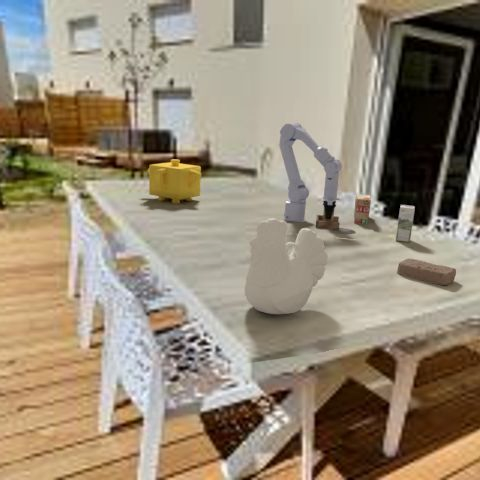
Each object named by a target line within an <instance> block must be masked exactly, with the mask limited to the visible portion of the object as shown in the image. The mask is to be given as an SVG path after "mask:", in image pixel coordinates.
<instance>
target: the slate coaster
mask: <svg viewBox="0 0 480 480" xmlns="http://www.w3.org/2000/svg"><path fill="white" fill-rule="evenodd" d="M331 231H332V232H333V233H336V234H340V235H353V234H356V233H357V232H356V230H354V229H350V228H342V227H341V228H340V227H339V229H331Z"/></svg>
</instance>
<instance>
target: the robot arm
mask: <svg viewBox="0 0 480 480" xmlns="http://www.w3.org/2000/svg"><path fill="white" fill-rule="evenodd" d="M279 133H280V138H279V148H280V149H279V150H280V152H281V157H282V159H283V160H282V161H283V164H284V167H285V171H286V176H287V178H288V182H289V183H288V186H287V189H288V194H287V195H288V196H287V197H288V199H289V200H286V201H285V204H284V213H283V216H284V219H283V221H284V222H286V221H288V222H297V223H298V222H300V223H305V222H306V219H307V218H306V216H305V215H306V206H307V205H306V204H307V199H308V197H309V194H310V193H309V192H310V191H309V189H308V188H307V187H306V184H305V182H304V180H302V179H301V174H300V171H299V168H298V164H297V163H298V162H297V160H296V156H295V152H294V149H293V146H294V144H295V142H296V141H298V140H300V141H302V143H304V144H305V146H306V147H308V148H309V149H310V150H311V151H312V152H313V157H314V158H315V159H316V161H317V162H318V163H320V165H321V166H322V167H323V170H324V172H325V179H324V189H323V197H322V199H323V201H322V202H323V203H322V205H323V209H324V208H325V217H326V219H331V217H332V213H333V210H334V211H335V209H336V207H337V201H340V198H339V197H338V189H339V178H340V171H341V170H342V167H343V164H342V163H341V160H339V159H336V158H335V156H333V155H331V154H330V152H329V151H328V150H329V149H328V148H326V147H324V146H319V144H318V143H317V142H316V141H315V140H314V139H313V138H312V136H311V135H310V134H309V133H308V132H307V130H306V128H304V127H303V126H302V124H301V123H285V124H283V126H282V127H281V129H280V130H279Z"/></svg>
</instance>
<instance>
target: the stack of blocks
mask: <svg viewBox="0 0 480 480" xmlns="http://www.w3.org/2000/svg"><path fill="white" fill-rule="evenodd" d="M371 203H372V198H371V195H370V194H360V193H357V194H356V196H355V200H354V211H353V212H354V213H353V219H354V220H353V223H354V224H357V225H358V224H360V225H369V219H370V218H369V217H370V211H371V210H370V209H371Z"/></svg>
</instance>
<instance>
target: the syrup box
mask: <svg viewBox="0 0 480 480" xmlns="http://www.w3.org/2000/svg"><path fill="white" fill-rule="evenodd" d="M415 208H416V207H415V206H414V205H407V204H400V208H399V214H398V220H397V227H396V234H395V242H401V243H409V244H410V242H411V238H412V237H411V236H412V230H413V224H414V216H415V210H416V209H415Z"/></svg>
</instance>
